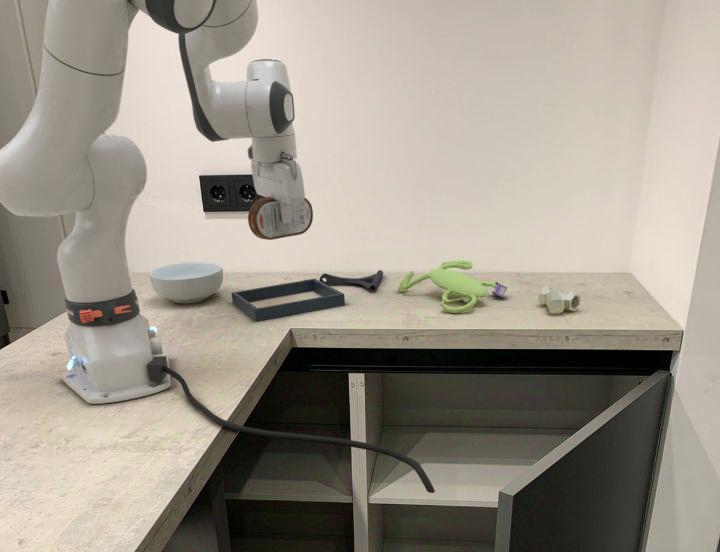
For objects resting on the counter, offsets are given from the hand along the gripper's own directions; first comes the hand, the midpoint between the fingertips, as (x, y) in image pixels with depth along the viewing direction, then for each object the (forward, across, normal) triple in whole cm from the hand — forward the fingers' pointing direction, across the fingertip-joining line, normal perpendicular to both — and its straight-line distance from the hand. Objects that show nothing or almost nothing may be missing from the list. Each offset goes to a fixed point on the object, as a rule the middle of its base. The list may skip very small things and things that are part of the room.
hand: (282, 221), depth 157 cm
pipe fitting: (+19, -37, -44) cm, 61 cm away
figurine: (+18, -15, -34) cm, 41 cm away
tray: (+18, +2, 0) cm, 18 cm away
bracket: (+18, +9, -19) cm, 28 cm away
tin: (+3, 0, 0) cm, 3 cm away
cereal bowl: (+18, +20, +17) cm, 33 cm away
